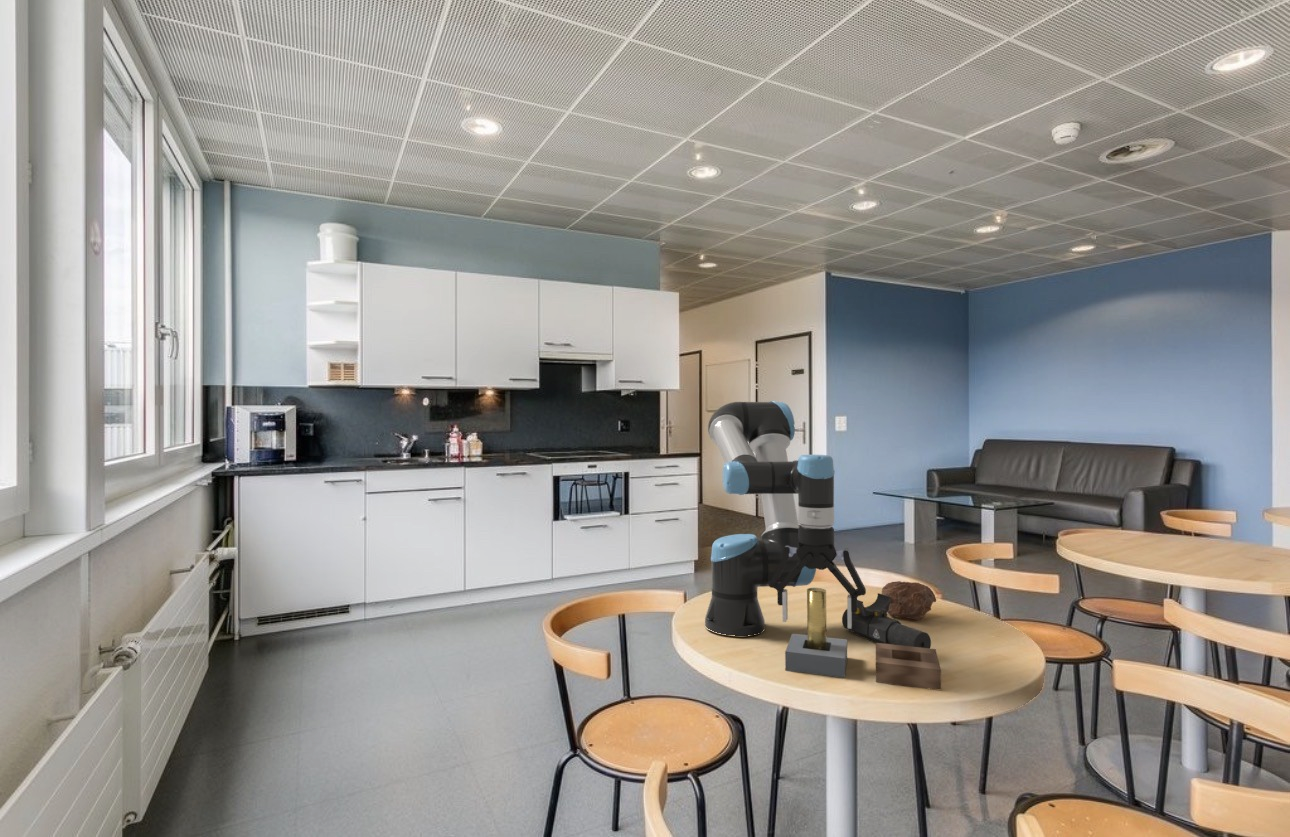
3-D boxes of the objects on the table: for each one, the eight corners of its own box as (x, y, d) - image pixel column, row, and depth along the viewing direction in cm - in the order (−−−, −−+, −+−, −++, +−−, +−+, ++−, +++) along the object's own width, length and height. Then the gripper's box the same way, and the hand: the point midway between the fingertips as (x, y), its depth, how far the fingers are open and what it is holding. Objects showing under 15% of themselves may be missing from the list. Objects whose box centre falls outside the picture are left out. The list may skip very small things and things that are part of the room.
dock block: (875, 681, 127) (875, 662, 127) (875, 660, 139) (875, 642, 139) (941, 690, 123) (940, 669, 123) (935, 667, 134) (935, 649, 134)
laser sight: (907, 662, 138) (906, 616, 138) (833, 632, 158) (833, 592, 158) (937, 655, 143) (937, 610, 143) (861, 626, 163) (861, 588, 163)
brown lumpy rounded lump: (942, 619, 168) (941, 581, 168) (919, 627, 161) (919, 588, 161) (896, 608, 178) (896, 572, 178) (873, 615, 171) (873, 578, 172)
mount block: (785, 670, 134) (785, 651, 134) (792, 651, 145) (792, 633, 145) (844, 677, 129) (844, 658, 129) (847, 657, 141) (847, 639, 141)
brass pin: (806, 666, 136) (806, 591, 136) (808, 659, 140) (808, 587, 140) (825, 668, 135) (825, 593, 135) (827, 661, 138) (826, 588, 138)
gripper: (755, 525, 138) (756, 622, 138) (877, 531, 130) (877, 635, 129) (761, 520, 145) (762, 612, 145) (877, 526, 137) (877, 624, 136)
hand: (816, 623), depth 137 cm, fingers open, 13 cm apart
